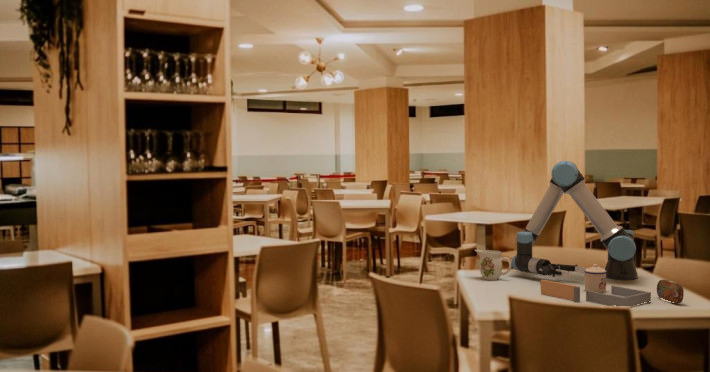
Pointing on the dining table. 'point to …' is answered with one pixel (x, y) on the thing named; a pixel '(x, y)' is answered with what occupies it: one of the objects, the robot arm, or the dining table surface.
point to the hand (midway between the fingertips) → (578, 272)
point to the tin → (670, 291)
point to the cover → (557, 289)
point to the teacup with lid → (595, 279)
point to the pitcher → (492, 264)
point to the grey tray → (615, 296)
